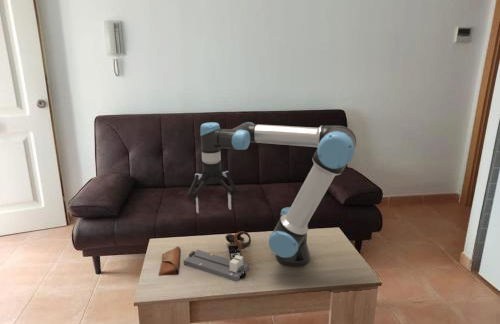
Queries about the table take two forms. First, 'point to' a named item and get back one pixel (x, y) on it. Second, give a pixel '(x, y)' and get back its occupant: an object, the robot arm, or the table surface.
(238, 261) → the fader
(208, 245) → the table surface
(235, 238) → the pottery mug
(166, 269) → the sunglasses case
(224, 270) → the grey slotted slider track
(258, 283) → the table surface
